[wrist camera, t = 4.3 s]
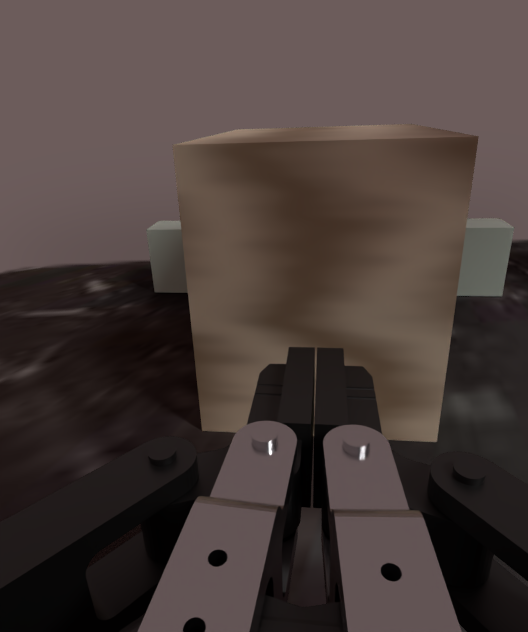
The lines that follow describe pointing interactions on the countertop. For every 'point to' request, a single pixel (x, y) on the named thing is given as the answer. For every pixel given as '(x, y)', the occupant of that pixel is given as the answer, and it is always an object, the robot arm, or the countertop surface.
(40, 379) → the countertop surface
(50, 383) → the countertop surface
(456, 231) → the birch block
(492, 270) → the sage board
